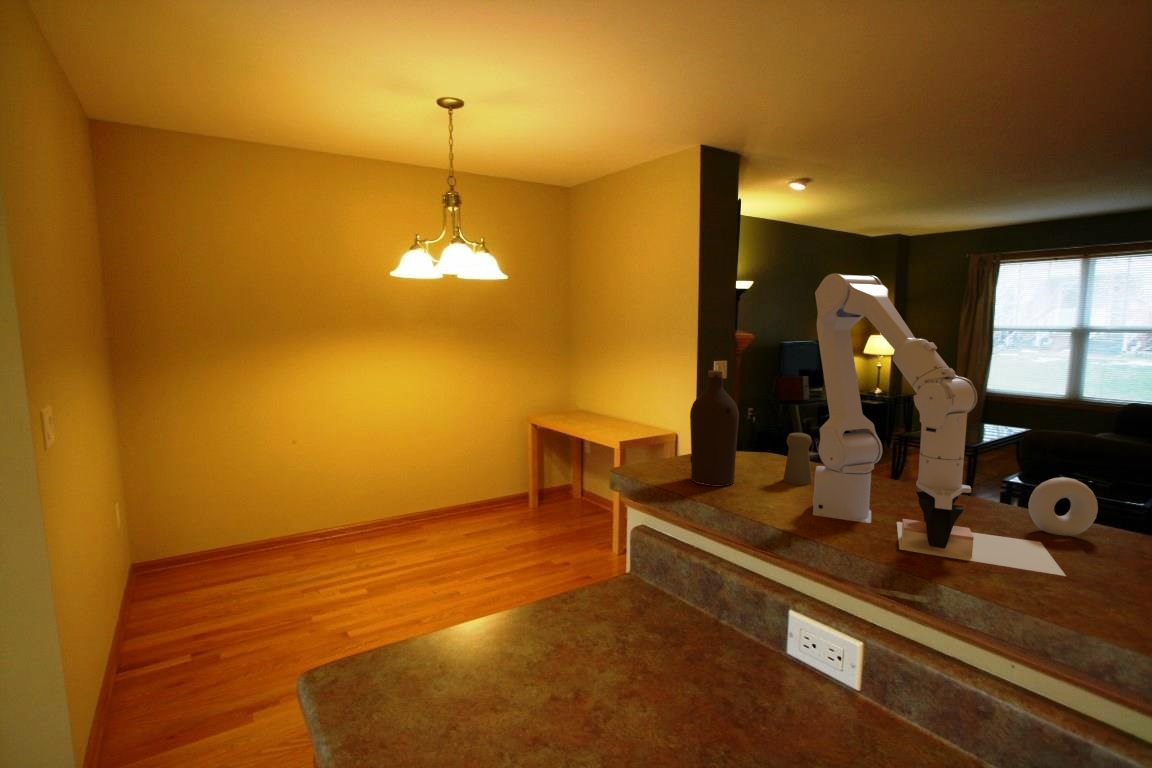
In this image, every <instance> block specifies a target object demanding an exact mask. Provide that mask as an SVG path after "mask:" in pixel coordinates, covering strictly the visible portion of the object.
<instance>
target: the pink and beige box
mask: <svg viewBox="0 0 1152 768" xmlns="http://www.w3.org/2000/svg"><path fill="white" fill-rule="evenodd" d="M901 522H902V545H903V546H907V547H913V548H920V549H926V550H932V551H938V552H945V553H951V554H957V555H964V556H970V557H972V552H973V539H974V537H973V535H972V533H971V532H972V530H971V529H970V527H964V526H958V525H954V526H953V528H952V531H951V534H950V537H949V540H948V543H947V546H946V548H945V549H944V548H937V547H931V546H929V543H928V538H927V529H926V522H924V520H914V519H907V518H902V521H901Z"/></svg>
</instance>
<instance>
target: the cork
mask: <svg viewBox="0 0 1152 768" xmlns="http://www.w3.org/2000/svg"><path fill="white" fill-rule="evenodd" d="M786 444H787V446H788V452H787V458H786V463H785V469H784V473H783V479H782V481H783V480H784V481H783V482H784V483H787V484H790V485H797V486H806V485H807V486H808V485H811V484H812V481H813V480H812V470H811V462H810V460H811V459H810V450H809V449H810V447H811V446H812V437H811V435H809V434H807V433H804V432H792V433H789V434H788V436H787V438H786Z"/></svg>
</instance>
